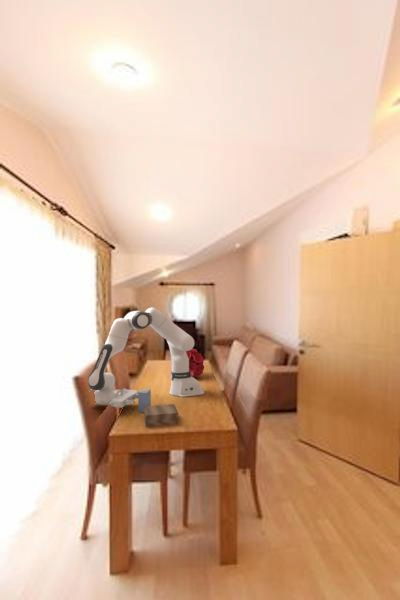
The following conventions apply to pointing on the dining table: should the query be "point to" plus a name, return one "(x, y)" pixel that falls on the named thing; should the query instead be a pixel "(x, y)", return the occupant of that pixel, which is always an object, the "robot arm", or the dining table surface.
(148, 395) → the slate tin
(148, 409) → the walnut box
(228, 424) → the dining table surface
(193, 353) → the bouquet
